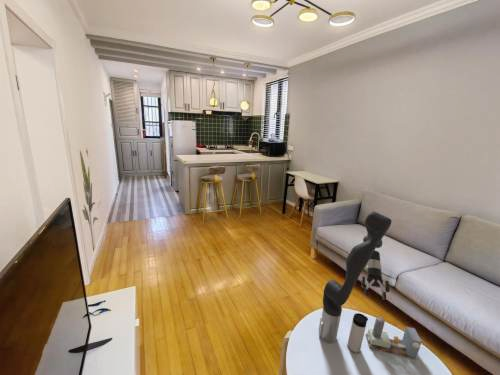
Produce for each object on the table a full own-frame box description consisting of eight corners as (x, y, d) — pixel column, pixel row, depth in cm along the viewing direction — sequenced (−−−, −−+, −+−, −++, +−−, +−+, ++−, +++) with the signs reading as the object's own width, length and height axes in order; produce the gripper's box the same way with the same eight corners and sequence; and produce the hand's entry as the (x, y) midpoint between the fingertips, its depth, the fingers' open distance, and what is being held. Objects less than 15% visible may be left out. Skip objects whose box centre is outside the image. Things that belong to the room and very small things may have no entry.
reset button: (395, 345, 122) (397, 340, 121) (393, 339, 125) (394, 334, 124) (402, 347, 121) (403, 341, 120) (399, 341, 125) (401, 335, 124)
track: (369, 348, 123) (370, 345, 123) (365, 335, 131) (366, 332, 130) (416, 359, 119) (417, 355, 118) (409, 345, 126) (410, 341, 126)
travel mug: (362, 354, 119) (369, 323, 114) (348, 351, 121) (355, 320, 115) (359, 344, 125) (366, 313, 120) (346, 341, 127) (352, 311, 121)
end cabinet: (408, 355, 119) (412, 340, 116) (401, 341, 127) (406, 326, 124) (416, 357, 118) (421, 342, 116) (410, 343, 126) (414, 328, 123)
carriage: (371, 343, 123) (376, 324, 119) (367, 332, 130) (372, 313, 126) (389, 348, 121) (395, 328, 118) (385, 336, 128) (390, 317, 124)
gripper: (363, 265, 138) (364, 294, 130) (389, 269, 135) (392, 300, 127) (359, 267, 144) (360, 296, 136) (384, 272, 141) (386, 301, 134)
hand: (375, 298), depth 132 cm, fingers open, 8 cm apart
